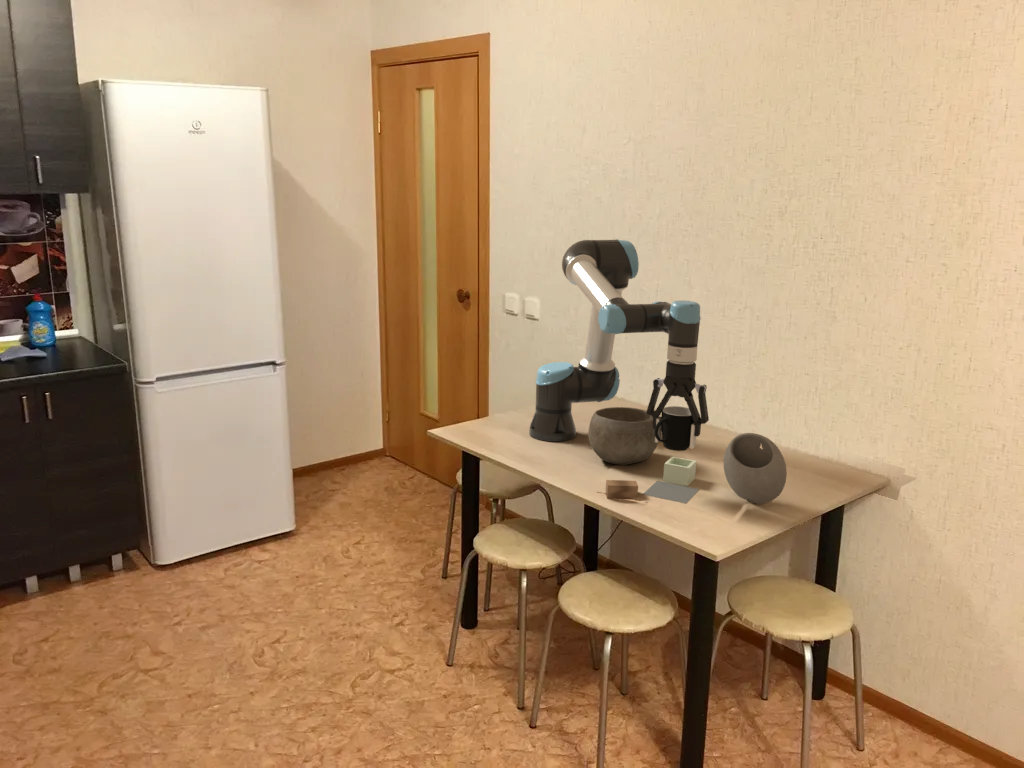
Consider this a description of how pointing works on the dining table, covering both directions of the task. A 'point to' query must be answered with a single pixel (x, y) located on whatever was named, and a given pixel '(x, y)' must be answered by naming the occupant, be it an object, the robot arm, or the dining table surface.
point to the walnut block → (621, 489)
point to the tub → (679, 471)
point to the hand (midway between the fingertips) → (675, 444)
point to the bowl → (622, 435)
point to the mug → (675, 428)
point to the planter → (755, 468)
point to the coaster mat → (671, 492)
